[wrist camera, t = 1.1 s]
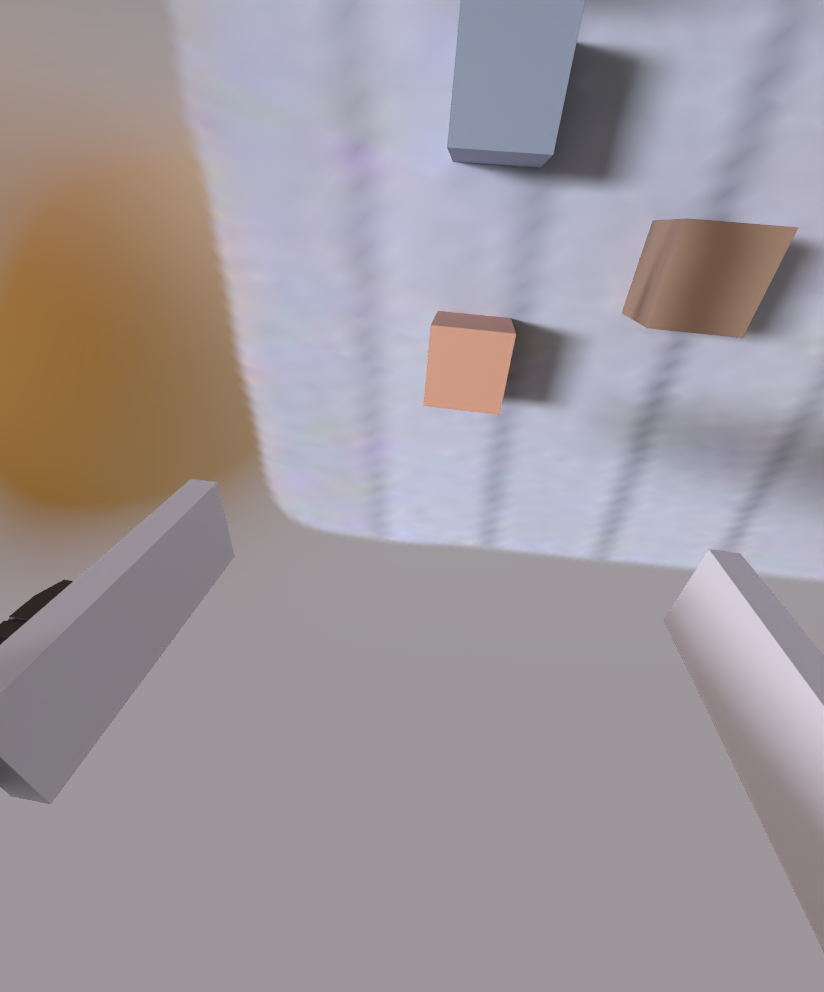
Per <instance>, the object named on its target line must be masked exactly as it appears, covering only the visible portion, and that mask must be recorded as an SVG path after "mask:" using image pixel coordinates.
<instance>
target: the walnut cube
mask: <svg viewBox="0 0 824 992" xmlns="http://www.w3.org/2000/svg"><path fill="white" fill-rule="evenodd" d="M797 229H798V228H797V227H785V226H772V225H760V224H748V223H735V222H723V221H710V220H698V219H675V220H656V221H653V222H652V224H651V227H650V230H649V233H648V236H647V239H646V242H645V245H644V248H643V251H642V254H641V257H640V260H639V263H638V266H637V269H636V272H635V275H634V278H633V281H632V284H631V287H630V290H629V293H628V296H627V299H626V302H625V305H624V308H623V311H622V313H623V314H624V315H626V316H628V317H629V318H631V319H633V320H635V321H636V322H638V323H640V324H641V325H643V326H645V327H647V328H651V329H661V330H671V331H680V332H690V333H700V334H710V335H720V336H730V337H740V338H743V336H744V334H745V332H746V330H747V328H748V326H749V324H750V322H751V320H752V318H753V316H754V314H755V312H756V310H757V308H758V306H759V304H760V302H761V301H762V299H763V297H764V295H765V293H766V291H767V289H768V287H769V285H770V283H771V281H772V279H773V277H774V275H775V273H776V271H777V269H778V267H779V265H780V263H781V261H782V259H783V257H784V255H785V253H786V251H787V249H788V247H789V245H790V243H791V241H792V239H793V237H794V235H795V233H796V231H797Z"/></svg>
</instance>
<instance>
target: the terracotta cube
mask: <svg viewBox="0 0 824 992" xmlns="http://www.w3.org/2000/svg"><path fill="white" fill-rule="evenodd" d="M515 338H516V332H515V329H514V326H513V323H512V320H511V318H502V317H492V316H483V315H473V314H463V313H453V312H443V311H438V312H437V314H436V316H435V318H434V320H433V322H432V324H431V329H430V340H429V351H428V362H427V373H426V384H425V395H424V406H431V407H439V408H448V409H456V410H464V411H473V412H481V413H489V414H498V415H500V411H501V406H502V401H503V396H504V391H505V386H506V382H507V377H508V372H509V367H510V362H511V357H512V352H513V347H514V342H515Z"/></svg>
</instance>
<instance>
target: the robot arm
mask: <svg viewBox="0 0 824 992" xmlns="http://www.w3.org/2000/svg"><path fill="white" fill-rule="evenodd" d="M233 558H234V552H233V548H232V544H231V539H230V535H229V530H228V526H227V522H226V518H225V513H224V509H223V505H222V501H221V497H220V492H219V488H218V484H217V482H210V481H202V480H195V479H191V480H189V481H188V482H187V483H186V484H185V485H184V486H182V487H181V488H180V489H179V490H178V491H177V492H176V493H174V494H173V495H172V496H171V497H170V498H169V499H167V500H166V501H165V502H164V503H163V504H162V505H161V506H159V507H158V508H157V509H156V510H155V511H154V512H152V513H151V514H150V515H149V516H148V517H147V518H146V519H144V520H143V521H142V522H141V523H140V524H139V525H138V526H136V527H135V528H134V529H133V530H132V531H131V532H129V533H128V534H127V535H126V536H125V537H124V538H123V539H121V541H119V542H118V543H117V544H116V545H115V546H113V547H112V548H111V549H110V550H109V551H108V552H107V553H105V554H104V555H103V556H102V557H101V558H100V559H99V560H97V561H96V562H95V563H94V564H93V565H92V566H90V567H89V568H88V569H87V570H86V571H85V572H83V573H82V574H81V575H80V576H79V577H78V578H77V579H75V580H74V581H68V580H63V581H61V582H59V583H57V584H55V585H53V586H52V587H50V588H48V589H47V590H44V591H42V592H41V593H39V594H37V595H35V596H34V597H32V598H31V599H30V600H29V601H28V602H26V603H25V604H24V605H23V606H21V607H20V608H19V609H18V610H17V611H15V612H14V613H13V614H12V615H10V616H9V617H10V618H9V620H8V621H3V622H2V623H1V624H0V787H1V788H2V789H4V790H5V791H6V792H7V793H8V794H9V795H11V796H13V797H18V798H23V799H28V800H33V801H38V802H43V803H48V804H51V803H52V802H53V800H54V799H55V798H56V796H57V795H58V794H59V792H60V791H61V789H62V788H63V787H64V785H65V784H66V783H67V781H68V780H69V779H70V777H71V776H72V775H73V773H74V772H75V771H76V769H77V768H78V766H79V765H80V764H81V762H82V761H83V760H84V759H85V757H86V756H87V754H88V753H89V752H90V750H91V749H92V748H93V746H94V745H95V744H96V742H97V741H98V740H99V738H100V737H101V736H102V734H103V733H104V731H105V730H106V729H107V728H108V726H109V725H110V723H111V722H112V721H113V719H114V718H115V717H116V715H117V714H118V713H119V711H120V710H121V709H122V707H123V706H124V705H125V703H126V702H127V701H128V699H129V698H130V697H131V695H132V694H133V692H134V691H135V690H136V688H137V687H138V686H139V684H140V683H141V682H142V680H143V679H144V678H145V676H146V675H147V673H148V672H149V671H150V670H151V668H152V667H153V665H154V664H155V663H156V662H157V660H158V659H159V657H160V656H161V654H162V653H163V652H164V651H165V649H166V648H167V647H168V645H169V644H170V643H171V641H172V640H173V639H174V637H175V636H176V635H177V633H178V632H179V631H180V629H181V627H182V626H183V625H184V624H185V622H186V621H187V620H188V618H189V617H190V616H191V614H192V613H193V612H194V610H195V609H196V608H197V606H198V605H199V604H200V602H201V601H202V599H203V598H204V597H205V595H206V594H207V593H208V591H209V590H210V589H211V587H212V586H213V585H214V583H215V582H216V581H217V579H218V578H219V577H220V575H221V574H222V573H223V571H224V570H225V569H226V567H227V566H228V565H229V563H230V562H231V560H232V559H233ZM664 622H665V624H666V626H667V628H668V630H669V632H670V634H671V636H672V639H673V641H674V643H675V645H676V647H677V649H678V651H679V653H680V655H681V657H682V659H683V661H684V664H685V665H686V668H687V670H688V672H689V674H690V676H691V678H692V680H693V682H694V684H695V686H696V688H697V690H698V693H699V694H700V697H701V699H702V701H703V703H704V705H705V707H706V709H707V711H708V713H709V715H710V717H711V719H712V721H713V723H714V726H715V728H716V730H717V732H718V734H719V736H720V738H721V740H722V742H723V744H724V746H725V749H726V751H727V753H728V754H729V757H730V759H731V761H732V763H733V765H734V767H735V769H736V771H737V773H738V775H739V778H740V780H741V782H742V783H743V786H744V788H745V790H746V792H747V794H748V796H749V798H750V800H751V802H752V804H753V807H754V808H755V811H756V813H757V815H758V817H759V819H760V821H761V823H762V825H763V827H764V829H765V831H766V834H767V836H768V837H769V840H770V842H771V844H772V846H773V848H774V850H775V852H776V854H777V856H778V858H779V860H780V863H781V864H782V867H783V869H784V871H785V873H786V875H787V877H788V879H789V881H790V883H791V885H792V887H793V889H794V892H795V893H796V896H797V898H798V900H799V902H800V904H801V906H802V908H803V910H804V912H805V914H806V916H807V919H808V920H809V923H810V925H811V927H812V929H813V931H814V933H815V935H816V937H817V939H818V941H819V943H820V945H821V948H822V950H823V952H824V655H823V654H822V652H821V651H820V650H819V649H818V648H817V646H816V645H815V644H814V643H813V641H812V640H811V639H810V638H809V637H808V635H807V634H806V633H805V632H804V630H803V629H802V628H801V627H800V626H799V625H798V623H797V622H796V621H795V620H794V618H793V617H792V616H791V615H790V613H789V612H788V611H787V610H786V609H785V607H784V606H783V605H782V604H781V603H780V601H779V600H778V599H777V598H776V597H775V595H774V594H773V593H772V591H771V590H770V589H769V588H768V587H767V585H766V584H765V583H764V582H763V580H762V579H761V578H760V577H759V576H758V574H757V573H756V572H755V571H754V570H753V568H752V567H751V566H750V565H749V563H748V562H747V561H746V560H745V559H744V557H743V556H742V555H741V554H740V553H733V552H725V551H718V550H711V549H709V550H708V552H707V553H706V555H705V556H704V558H703V559H702V561H701V563H700V564H699V566H698V567H697V569H696V570H695V572H694V574H693V575H692V577H691V578H690V580H689V581H688V583H687V584H686V586H685V588H684V589H683V591H682V592H681V594H680V596H679V597H678V599H677V600H676V602H675V603H674V605H673V607H672V608H671V610H670V611H669V613H668V614H667V616H666V617H665V619H664Z"/></svg>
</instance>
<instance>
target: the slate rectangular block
mask: <svg viewBox="0 0 824 992" xmlns="http://www.w3.org/2000/svg"><path fill="white" fill-rule="evenodd" d="M584 3H585V0H461V3H460V14H459V25H458V36H457V47H456V58H455V69H454V80H453V91H452V102H451V112H450V123H449V134H448V145H447V148H448V150H449V153H450V155H451V158H452V160H453V162H467V163H480V164H494V165H507V166H521V167H534V168H541V167H542V166H543V165H544V164H545V163H546V162H547V161H548V160H549V159H550V158H551V157H552V156H553V154H554V149H555V144H556V139H557V134H558V129H559V125H560V120H561V115H562V110H563V105H564V100H565V95H566V91H567V86H568V81H569V76H570V71H571V66H572V61H573V57H574V52H575V47H576V42H577V37H578V32H579V28H580V23H581V18H582V13H583V8H584Z"/></svg>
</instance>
